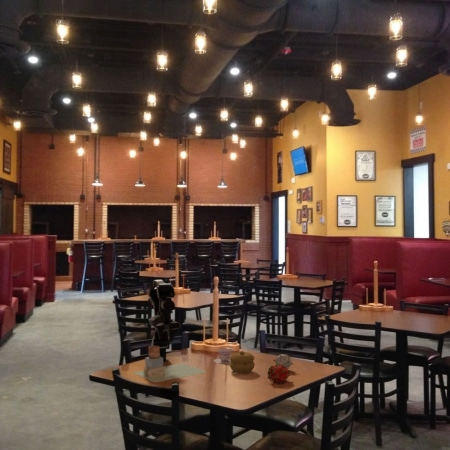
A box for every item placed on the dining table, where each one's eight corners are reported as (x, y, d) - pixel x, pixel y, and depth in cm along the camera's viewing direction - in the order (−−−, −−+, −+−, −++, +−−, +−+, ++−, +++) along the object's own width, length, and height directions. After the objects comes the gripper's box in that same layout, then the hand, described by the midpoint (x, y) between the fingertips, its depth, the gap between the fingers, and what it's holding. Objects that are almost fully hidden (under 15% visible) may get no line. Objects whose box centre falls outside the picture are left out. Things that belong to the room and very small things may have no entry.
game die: (283, 379, 245) (277, 365, 240) (274, 369, 252) (268, 355, 247) (298, 368, 247) (293, 354, 242) (289, 359, 255) (283, 344, 250)
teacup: (222, 358, 276) (222, 346, 276) (241, 360, 269) (241, 348, 269) (209, 362, 266) (208, 350, 266) (228, 365, 259) (228, 353, 259)
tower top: (145, 366, 241) (145, 357, 242) (156, 364, 245) (156, 355, 245) (151, 368, 237) (151, 359, 237) (163, 366, 240) (163, 357, 240)
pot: (250, 368, 252) (250, 347, 252) (258, 374, 241) (257, 352, 241) (227, 370, 249) (226, 349, 250) (233, 376, 238) (233, 354, 238)
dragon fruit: (265, 388, 224) (286, 387, 231) (277, 379, 219) (298, 379, 226) (260, 369, 229) (280, 369, 236) (271, 360, 224) (292, 360, 231)
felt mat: (131, 373, 246) (131, 372, 246) (182, 364, 263) (182, 363, 263) (154, 383, 228) (154, 382, 228) (207, 372, 245) (207, 371, 245)
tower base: (144, 374, 241) (143, 366, 242) (157, 372, 246) (157, 363, 246) (151, 378, 236) (151, 369, 236) (164, 375, 240) (164, 366, 240)
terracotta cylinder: (146, 357, 242) (146, 346, 242) (156, 355, 244) (156, 345, 245) (152, 359, 238) (151, 348, 238) (161, 357, 240) (161, 346, 241)
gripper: (141, 308, 259) (141, 340, 259) (160, 312, 244) (160, 346, 244) (161, 306, 266) (161, 337, 266) (180, 310, 251) (181, 343, 251)
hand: (165, 341), depth 256 cm, fingers open, 9 cm apart
